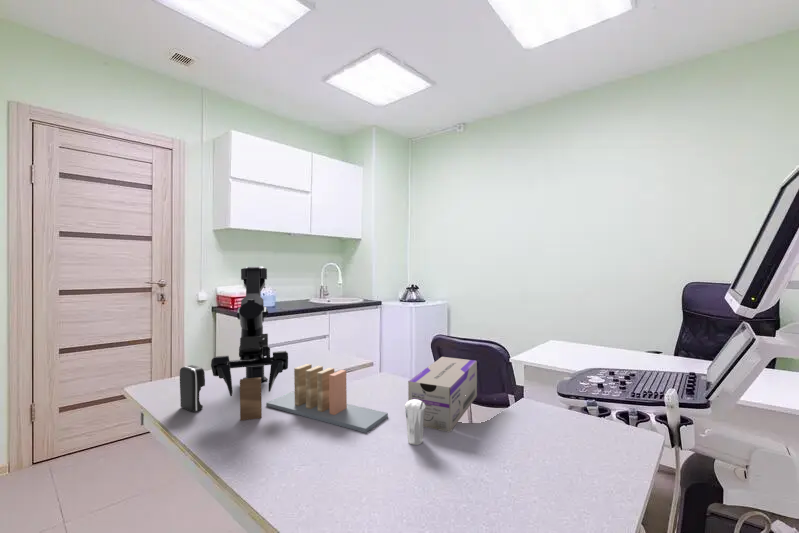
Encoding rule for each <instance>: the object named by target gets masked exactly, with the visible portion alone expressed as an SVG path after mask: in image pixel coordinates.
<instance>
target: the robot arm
mask: <svg viewBox="0 0 799 533" xmlns="http://www.w3.org/2000/svg"><path fill="white" fill-rule="evenodd" d="M240 280H241V281H243V286H244V288H245V296H244V297H242V299H241V301H240V307H238V308H237V311H236V312H237V314H236V317H237V320H239V322H240V323H239V324H240V328H241V332H240V334H241V335H240V338H239V347H238V351H239V352H238V358H239V359H235V360H234V359H233V360H230V357H229V355H221V356H220V355H218V356H213V357H212V359H211V361H210V362H211V363H210V367H211V371H212V376H213V377H218V378H219V379H223V381H224V383H225V384H226V387H227V390H228V393H229V396H230V397H232V396H233V382H232V381H233V380H232V373H231V369H239V368H245V377H243V378H242V379H248V378H258V377H261V383H262V382H267V381H268V393H270V392H271V391H272V388H273V385H274V383H275V380H276V379H277V377H278V375H279V374H280V373H283V371H286V370H288V368H289V353H288V351H287V350H281V351H272V356H271V347H270V346H269V334H268V333H264V325H263V323H264V320H265V319H267V318H268V316H269V309H267V306H264V298H262V296H261V292H262V291H263V289H264V288H265V286H266V280H268V269H267V268H265V267H264V266H245V267H244V268H240ZM265 366H270V370H269V371H270V372H269V379H268V378H267V377H266V376H265Z"/></svg>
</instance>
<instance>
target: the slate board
mask: <svg viewBox="0 0 799 533" xmlns="http://www.w3.org/2000/svg"><path fill="white" fill-rule="evenodd" d="M265 405H266V406H265V407H267V408H268V407H269V408H271V409H276V410H278V411H283V412H287V413H291V414H293V415H294V414H295V415H297V416H301V417H305V418H308V419H312V420H316V421H320V422H323V423H328V424H332V425H335V426H338V427H339V426H340V427H343V428H347V429H349V430H354V431H358V432H362V433H365V434H366V433H368V432H369V431H370V430H372V429H373V428H375V427H376V426H377V425H378V424H380V423H381V422H383V421H384V420H386V419H387V418H388V417H389V414H388V412H384V411H381V410H376V409H372V408H366V407H363V406H359V405H354V404H350V403H347V408H346V409H344V410H343V411H341V412H339V413H337V414H336V415H332V414H330V408H329V409H327V410H325V411H323V412H320V411H318V406H316V407H314V408H312V409H308V408H306V403H305V404H303V405H301V406H297V405H295V390H294V391H290V392H288V393H286V394H282V395H281V396H279V397H276V398H274V399H271V400H268V401H267V402H266V404H265Z"/></svg>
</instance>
